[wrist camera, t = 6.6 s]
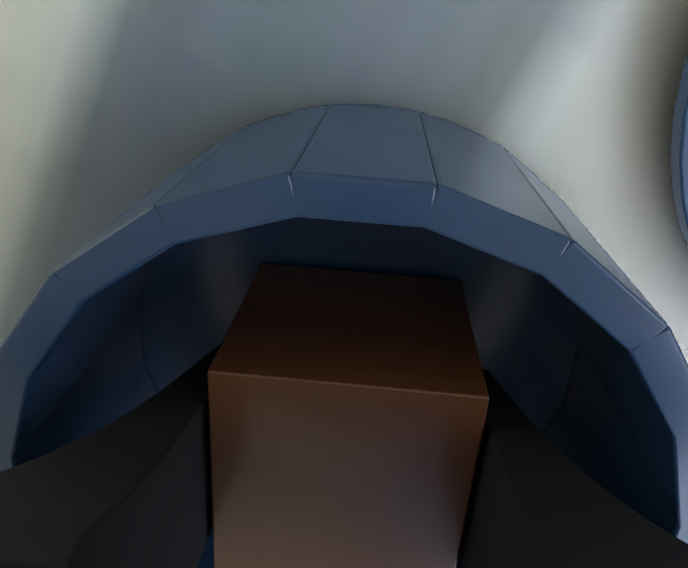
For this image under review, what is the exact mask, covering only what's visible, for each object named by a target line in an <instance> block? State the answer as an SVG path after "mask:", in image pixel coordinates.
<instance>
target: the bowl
mask: <svg viewBox="0 0 688 568" xmlns="http://www.w3.org/2000/svg"><path fill="white" fill-rule="evenodd" d="M260 264H274V265H286V266H297V267H309V268H320V269H332V270H343V271H355V272H366V273H378V274H389V275H401V276H412V277H424V278H435V279H447V280H458V281H461V285H462V289H463V293H464V297H465V301H466V305H467V309H468V313H469V317H470V321H471V325H472V329H473V333H474V337H475V342H476V346H477V350H478V354H479V358H480V362H481V366H482V369H483V370H488V371H489V372H490V373H491V374H492V376H493V377H494V378H495V379H496V380H497V382H498V383H499V384H500V385H501V387H502V388H503V389H504V390H505V392H506V393H507V394H508V395H509V396H510V398H511V399H512V400H513V401H514V402H515V404H516V405H517V406H518V407H519V408H520V410H521V411H522V412H523V413H524V414H525V415H526V416H527V417H528V419H529V420H530V421H531V422H532V423H533V424H534V425H535V426H536V427H537V428H538V430H539V431H540V432H541V433H542V434H543V435H544V436H545V437H546V438H547V439H548V440H549V441H550V442H551V443H552V444H553V445H554V446H555V447H556V448H557V449H558V450H559V451H560V452H561V453H562V454H563V455H565V456H566V457H567V458H568V459H569V460H570V461H571V462H572V463H573V464H574V465H576V466H577V467H578V468H579V469H580V470H581V471H583V472H584V473H585V474H586V475H588V476H589V477H590V478H591V479H592V480H594V481H595V482H596V483H597V484H598V485H600V486H601V487H602V488H603V489H605V490H606V491H607V492H609V493H610V494H611V495H613V496H614V497H615V498H617V499H618V500H620V501H621V502H623V503H624V504H625V505H627V506H628V507H630V508H631V509H633V510H634V511H636V512H637V513H638V514H640V515H641V516H643V517H644V518H646V519H647V520H649V521H651V522H652V523H654V524H655V525H657V526H658V527H660V528H662V529H663V530H665V531H667V532H668V533H670V534H672V535H673V536H675V537H677V538H679V539H680V540H682V541H684V542H685V543H687V544H688V364H687V362H686V360H685V358H684V356H683V354H682V351H681V349H680V347H679V345H678V343H677V341H676V339H675V337H674V335H673V333H672V331H671V329H670V327H669V326H668V325H667V323H666V322H665V321H664V319H663V318H662V317H661V316H660V315H659V313H658V312H657V311H656V310H655V309H654V308H653V306H652V305H651V304H650V303H649V302H648V301H647V299H646V298H645V297H644V296H643V295H642V293H641V292H640V291H639V290H638V289H637V288H636V286H635V285H634V284H633V283H632V282H631V281H630V279H629V278H628V277H627V276H626V275H625V273H624V272H623V271H622V270H621V269H620V268H619V266H618V265H617V264H616V263H615V262H614V261H613V259H612V258H611V257H610V256H609V255H608V253H607V252H606V251H605V250H604V249H603V248H602V246H601V245H600V244H599V243H598V242H597V241H596V239H595V238H594V237H593V236H592V235H591V233H590V232H589V231H588V230H587V229H586V228H585V226H584V225H583V224H582V223H581V222H580V220H579V219H578V218H577V217H576V216H575V215H574V213H573V212H572V211H571V210H570V209H569V208H568V206H567V205H566V204H565V203H564V202H563V201H562V200H561V199H560V198H559V197H558V196H557V195H556V194H555V193H554V192H552V191H551V190H550V189H549V188H548V187H547V186H546V185H545V184H544V183H543V182H541V181H540V179H539V178H538V177H537V176H536V175H535V174H534V173H533V172H531V171H530V170H529V169H528V168H527V167H525V166H524V165H523V164H522V163H521V162H520V161H519V160H517V159H516V158H515V157H514V156H513V155H512V154H511V153H510V152H509V151H508V150H506V149H505V148H504V147H502V146H501V145H499V144H496V143H494V142H492V141H489V140H488V139H486V138H484V137H483V136H481V135H480V134H477V133H475V132H473V131H471V130H468V129H466V128H464V127H462V126H459V125H457V124H455V123H452V122H450V121H448V120H445V119H442V118H438V117H435V116H431V115H428V114H426V113H424V112H418V111H414V110H409V109H403V108H396V107H389V106H382V105H370V104H336V105H324V106H320V107H313V108H305V109H300V110H296V111H293V112H289V113H285V114H282V115H278V116H274V117H270V118H268V119H265V120H263V121H260V122H257V123H253V124H249V125H246V126H245V127H243V128H240V129H239V130H237V131H236V132H234V133H233V134H231V135H230V136H228V137H227V138H225V139H223V140H222V141H220V142H219V143H217V144H216V145H214V146H212V147H211V148H209V149H208V150H206V151H205V152H204V153H202V154H201V155H199V156H198V157H196V158H195V159H193V160H192V161H190V162H189V163H187V164H186V165H184V166H183V167H181V168H180V169H178V170H177V171H176V172H175V173H173V174H172V175H171V176H170V177H168V178H167V179H166V180H165V181H163V182H162V183H161V184H160V185H158V186H157V187H156V188H155V189H153V190H152V191H151V192H150V193H148V194H147V195H146V196H145V197H143V198H142V199H141V200H140V201H138V202H137V203H136V204H135V205H133V206H132V207H131V208H130V209H128V210H127V211H126V212H125V213H123V214H122V215H121V216H120V217H118V218H117V219H116V220H115V221H113V222H112V223H111V224H110V225H108V226H107V227H106V228H105V229H103V230H102V231H101V232H100V233H98V234H97V235H96V236H95V237H93V238H92V239H91V240H90V241H88V242H87V243H86V244H85V245H83V246H82V247H81V248H80V249H78V250H77V251H76V252H75V253H73V254H72V255H71V256H70V257H68V258H67V259H66V260H65V261H63V262H62V263H61V264H60V265H58V266H57V267H56V269H55V270H53V271H52V272H51V273H50V274H49V275H48V277H47V278H46V280H45V281H44V283H43V284H42V286H41V287H40V289H39V290H38V292H37V293H36V294H35V296H34V297H33V299H32V300H31V302H30V303H29V305H28V306H27V308H26V309H25V311H24V312H23V314H22V315H21V317H20V318H19V320H18V321H17V322H16V324H15V325H14V327H13V328H12V330H11V331H10V333H9V334H8V336H7V337H6V339H5V340H4V342H3V343H2V345H1V346H0V471H3V470H6V469H9V468H12V467H15V466H18V465H20V464H23V463H25V462H28V461H31V460H33V459H36V458H38V457H41V456H43V455H46V454H48V453H50V452H52V451H55V450H57V449H59V448H61V447H63V446H66V445H68V444H70V443H72V442H74V441H77V440H79V439H81V438H83V437H85V436H87V435H89V434H91V433H93V432H95V431H97V430H99V429H100V428H102V427H104V426H106V425H108V424H110V423H111V422H113V421H115V420H117V419H118V418H120V417H122V416H123V415H125V414H127V413H128V412H130V411H131V410H133V409H134V408H136V407H137V406H139V405H140V404H142V403H143V402H145V401H146V400H148V399H149V398H151V397H152V396H154V395H155V394H156V393H158V392H159V391H161V390H162V389H164V388H165V387H166V386H168V385H169V384H170V383H172V382H173V381H174V380H175V379H177V378H178V377H179V376H181V375H182V374H183V373H184V372H186V371H187V370H188V369H189V368H191V367H192V366H193V365H194V364H196V363H197V362H198V361H199V360H201V359H202V358H203V357H204V356H206V355H207V354H208V353H209V352H211V351H212V350H213V349H215V348H216V347H217V346H219V345H221V343H222V341H223V339H224V337H225V335H226V333H227V331H228V329H229V327H230V325H231V323H232V321H233V319H234V317H235V315H236V313H237V311H238V309H239V307H240V305H241V303H242V301H243V299H244V297H245V295H246V293H247V291H248V289H249V287H250V285H251V283H252V281H253V279H254V277H255V274H256V272H257V270H258V268H259V266H260ZM197 568H214V557H213V527H212V529H211V532H210V534H209V537H208V539H207V542H206V544H205V547H204V549H203V552H202V555H201V557H200V560H199V563H198V566H197ZM456 568H463V565H462V560H461V554H460V551H459V556H458V562H457V567H456Z"/></svg>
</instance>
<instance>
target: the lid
mask: <svg viewBox="0 0 688 568" xmlns="http://www.w3.org/2000/svg"><path fill="white" fill-rule="evenodd" d="M670 156H671V173H672V190H673V197H674V202H675V207H676V212H677V216H678V221H679V226H680V230H681V233H682V235H683V238H684V240H685V243H686V245H687V248H688V55H687V58H686V61H685V64H684V67H683V72H682V76H681V81H680V86H679V90H678V95H677V100H676V104H675V109H674V117H673V129H672V141H671V153H670Z"/></svg>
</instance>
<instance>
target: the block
mask: <svg viewBox="0 0 688 568" xmlns="http://www.w3.org/2000/svg"><path fill="white" fill-rule="evenodd" d="M207 375H208V406H209V436H210V466H211V497H212V527H213V557H214V568H456V567H457V562H458V556H459V551H460V546H461V541H462V536H463V531H464V526H465V521H466V516H467V510H468V505H469V500H470V495H471V490H472V485H473V480H474V475H475V470H476V465H477V459H478V454H479V449H480V444H481V439H482V434H483V429H484V424H485V419H486V414H487V408H488V403H489V394H488V390H487V386H486V382H485V378H484V374H483V370H482V366H481V362H480V358H479V354H478V350H477V346H476V342H475V337H474V333H473V329H472V325H471V321H470V317H469V313H468V309H467V305H466V301H465V297H464V293H463V289H462V285H461V281H458V280H447V279H435V278H424V277H412V276H401V275H389V274H378V273H366V272H355V271H343V270H332V269H320V268H309V267H297V266H286V265H274V264H260V266H259V268H258V270H257V272H256V274H255V277H254V279H253V281H252V283H251V285H250V287H249V289H248V291H247V293H246V295H245V297H244V299H243V301H242V303H241V305H240V307H239V309H238V311H237V313H236V315H235V317H234V319H233V321H232V323H231V325H230V327H229V329H228V331H227V333H226V335H225V337H224V339H223V341H222V343H221V345H220V347H219V349H218V351H217V353H216V355H215V358H214V360H213V362H212V364H211V366H210V368H209V370H208V372H207Z"/></svg>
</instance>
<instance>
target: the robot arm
mask: <svg viewBox="0 0 688 568" xmlns="http://www.w3.org/2000/svg"><path fill="white" fill-rule="evenodd" d="M219 347H220V345H219V346H217V347H216V348H215V349H213V350H212V351H211V352H209V353H208V354H207V355H206V356H204V357H203V358H202V359H201V360H199V361H198V362H197V363H196V364H194V365H193V366H192V367H191V368H189V369H188V370H187V371H186V372H184V373H183V374H182V375H181V376H179V377H178V378H177V379H175V380H174V381H173V382H172V383H170V384H169V385H168V386H166V387H165V388H164V389H162V390H161V391H159V392H158V393H156V394H155V395H154V396H152V397H151V398H149V399H148V400H146V401H145V402H143V403H142V404H140V405H139V406H137V407H136V408H134V409H133V410H131V411H130V412H128V413H127V414H125V415H123V416H122V417H120V418H118V419H117V420H115V421H113V422H111V423H110V424H108V425H106V426H104V427H102V428H100V429H99V430H97V431H95V432H93V433H91V434H89V435H87V436H85V437H83V438H81V439H79V440H77V441H74V442H72V443H70V444H68V445H66V446H63V447H61V448H59V449H57V450H55V451H52V452H50V453H48V454H46V455H43V456H41V457H38V458H36V459H33V460H31V461H28V462H25V463H23V464H20V465H18V466H15V467H12V468H9V469H6V470H3V471H0V568H197V566H198V563H199V560H200V557H201V555H202V552H203V549H204V547H205V544H206V542H207V539H208V537H209V534H210V532H211V529H212V497H211V466H210V436H209V406H208V375H207V372H208V370H209V368H210V366H211V364H212V362H213V360H214V358H215V355H216V353H217V351H218V349H219ZM482 370H483V369H482ZM483 374H484V378H485V382H486V386H487V390H488V394H489V403H488V408H487V414H486V419H485V424H484V429H483V434H482V439H481V444H480V449H479V454H478V459H477V465H476V470H475V475H474V480H473V485H472V490H471V495H470V500H469V505H468V510H467V516H466V521H465V526H464V531H463V536H462V541H461V546H460V554H461V560H462V565H463V568H688V544H687V543H685V542H684V541H682V540H680V539H679V538H677V537H675V536H673V535H672V534H670V533H668V532H667V531H665V530H663V529H662V528H660V527H658V526H657V525H655V524H654V523H652V522H651V521H649V520H647V519H646V518H644V517H643V516H641V515H640V514H638V513H637V512H636V511H634V510H633V509H631V508H630V507H628V506H627V505H625V504H624V503H623V502H621V501H620V500H618V499H617V498H615V497H614V496H613V495H611V494H610V493H609V492H607V491H606V490H605V489H603V488H602V487H601V486H600V485H598V484H597V483H596V482H595V481H594V480H592V479H591V478H590V477H589V476H588V475H586V474H585V473H584V472H583V471H581V470H580V469H579V468H578V467H577V466H576V465H574V464H573V463H572V462H571V461H570V460H569V459H568V458H567V457H566V456H565V455H563V454H562V453H561V452H560V451H559V450H558V449H557V448H556V447H555V446H554V445H553V444H552V443H551V442H550V441H549V440H548V439H547V438H546V437H545V436H544V435H543V434H542V433H541V432H540V431H539V430H538V428H537V427H536V426H535V425H534V424H533V423H532V422H531V421H530V420H529V419H528V417H527V416H526V415H525V414H524V413H523V412H522V411H521V410H520V408H519V407H518V406H517V405H516V404H515V402H514V401H513V400H512V399H511V398H510V396H509V395H508V394H507V393H506V392H505V390H504V389H503V388H502V387H501V385H500V384H499V383H498V382H497V380H496V379H495V378H494V377H493V376H492V374H491V373H490V372H489V371H488V370H483Z"/></svg>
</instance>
